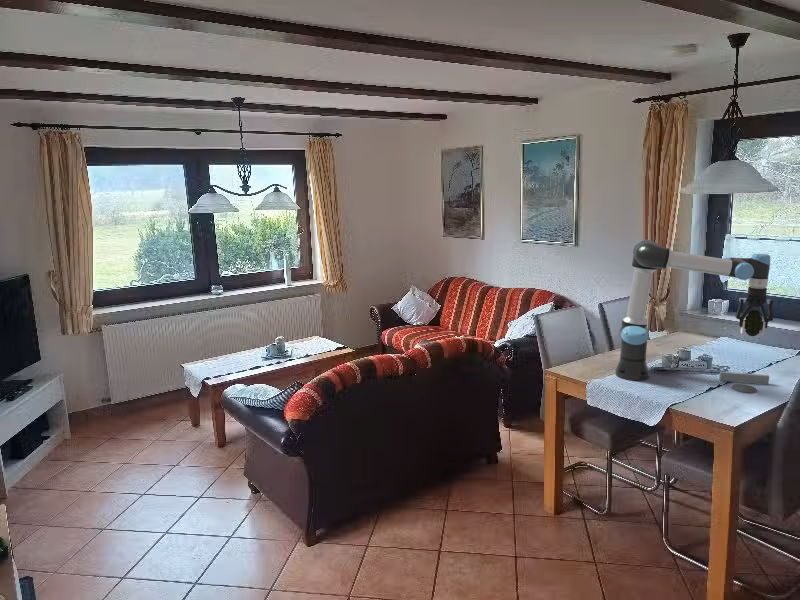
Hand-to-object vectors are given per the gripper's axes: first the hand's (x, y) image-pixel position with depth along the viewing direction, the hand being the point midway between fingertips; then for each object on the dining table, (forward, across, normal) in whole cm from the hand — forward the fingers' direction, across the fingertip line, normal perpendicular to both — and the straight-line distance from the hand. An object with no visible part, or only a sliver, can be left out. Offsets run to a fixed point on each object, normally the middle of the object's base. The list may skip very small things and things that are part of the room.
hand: (752, 334), depth 276 cm
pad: (+21, -6, -20) cm, 29 cm away
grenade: (+1, 0, 0) cm, 1 cm away
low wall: (+21, -4, -10) cm, 23 cm away
